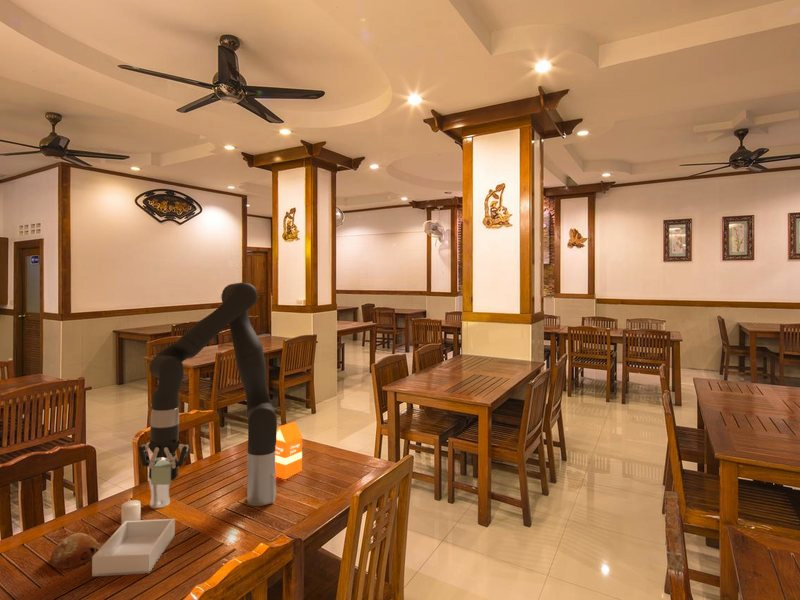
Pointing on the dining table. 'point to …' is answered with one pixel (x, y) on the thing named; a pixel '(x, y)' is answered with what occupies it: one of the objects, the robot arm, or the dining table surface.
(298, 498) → the dining table surface
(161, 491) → the beer glass
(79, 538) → the bread roll
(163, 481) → the sage block
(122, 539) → the grey tote
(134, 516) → the white pillar candle
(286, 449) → the orange juice
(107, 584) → the dining table surface
